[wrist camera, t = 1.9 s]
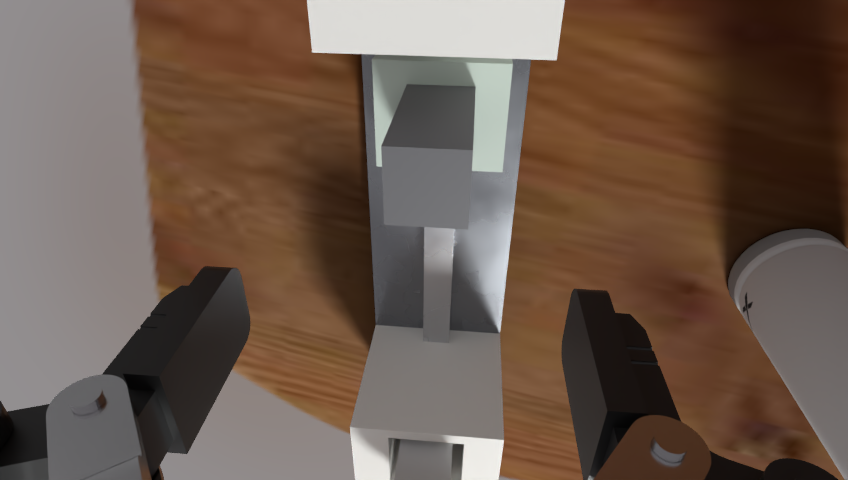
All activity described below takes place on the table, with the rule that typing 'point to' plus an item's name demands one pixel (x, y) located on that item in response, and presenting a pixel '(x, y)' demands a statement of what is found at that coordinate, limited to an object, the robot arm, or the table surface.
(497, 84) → the carriage
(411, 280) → the rail
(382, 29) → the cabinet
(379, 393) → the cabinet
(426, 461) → the button
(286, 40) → the table surface
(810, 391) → the travel mug
